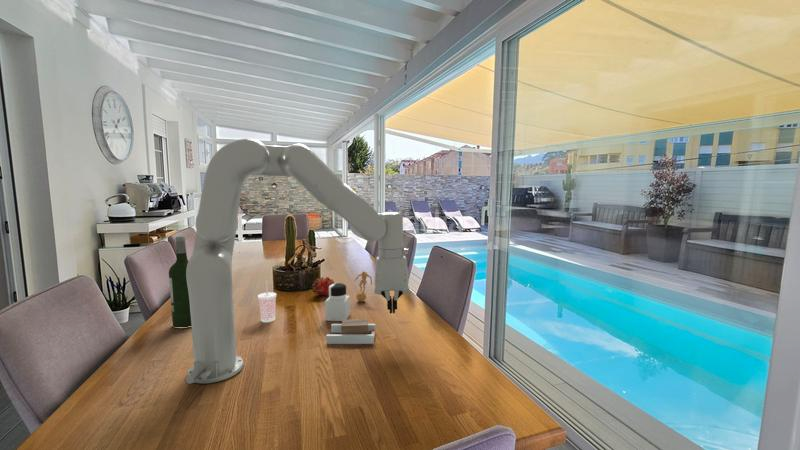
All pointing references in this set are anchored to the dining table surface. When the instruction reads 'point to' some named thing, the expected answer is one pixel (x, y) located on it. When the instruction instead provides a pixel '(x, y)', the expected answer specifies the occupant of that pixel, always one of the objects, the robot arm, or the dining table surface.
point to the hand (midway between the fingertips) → (392, 311)
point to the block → (354, 326)
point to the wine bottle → (180, 286)
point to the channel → (350, 336)
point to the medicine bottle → (337, 303)
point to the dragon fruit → (322, 286)
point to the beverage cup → (267, 305)
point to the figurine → (361, 295)
